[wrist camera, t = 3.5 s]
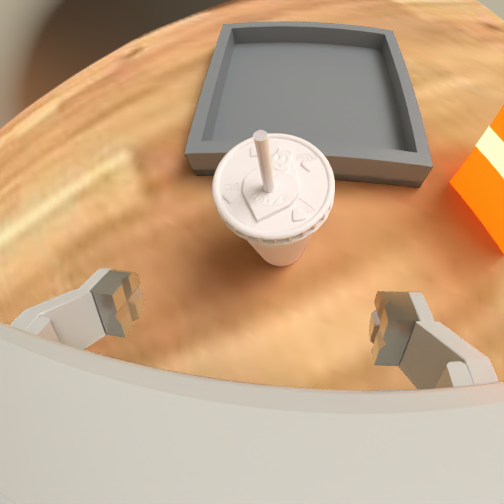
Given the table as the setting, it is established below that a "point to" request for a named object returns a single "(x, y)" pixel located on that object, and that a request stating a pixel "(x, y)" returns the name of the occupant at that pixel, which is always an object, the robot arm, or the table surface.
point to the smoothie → (274, 194)
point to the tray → (313, 99)
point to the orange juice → (486, 179)
